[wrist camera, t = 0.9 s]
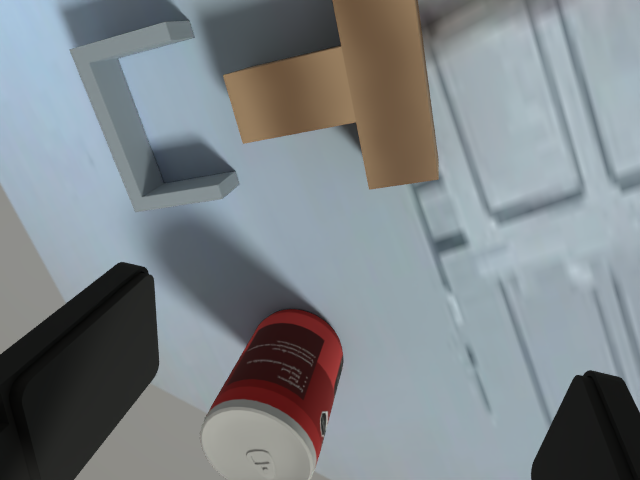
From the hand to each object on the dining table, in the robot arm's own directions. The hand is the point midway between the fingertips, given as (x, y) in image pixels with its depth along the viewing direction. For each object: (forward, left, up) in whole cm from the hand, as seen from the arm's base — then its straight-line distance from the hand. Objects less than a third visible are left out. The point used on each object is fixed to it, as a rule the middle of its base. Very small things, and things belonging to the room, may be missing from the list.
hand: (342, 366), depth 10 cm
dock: (+16, -4, -22) cm, 27 cm away
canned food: (+11, +16, -22) cm, 30 cm away
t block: (+4, -4, -22) cm, 23 cm away
